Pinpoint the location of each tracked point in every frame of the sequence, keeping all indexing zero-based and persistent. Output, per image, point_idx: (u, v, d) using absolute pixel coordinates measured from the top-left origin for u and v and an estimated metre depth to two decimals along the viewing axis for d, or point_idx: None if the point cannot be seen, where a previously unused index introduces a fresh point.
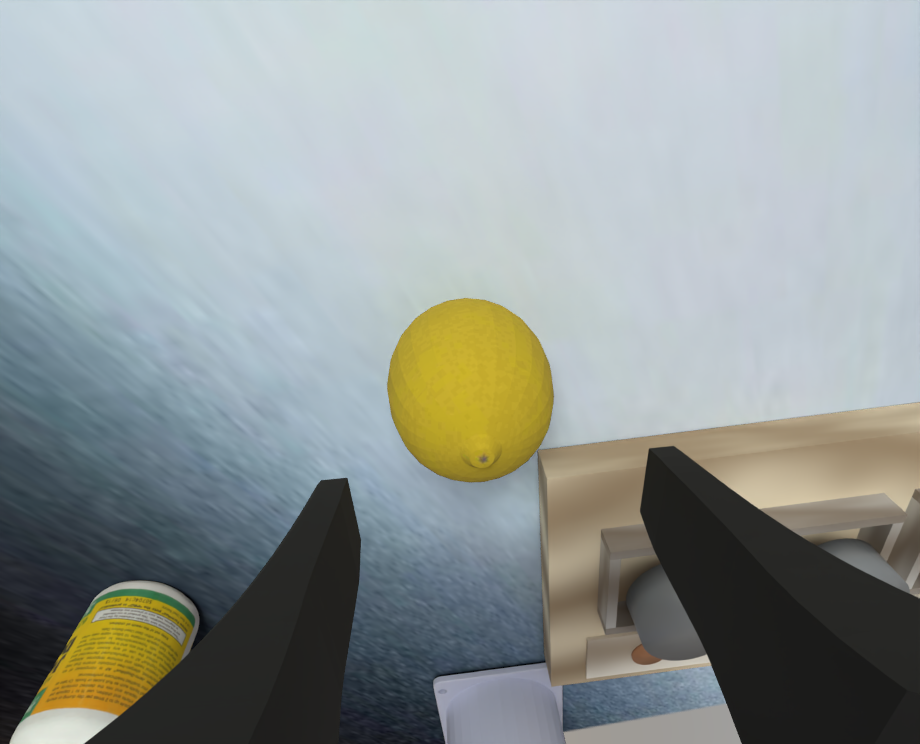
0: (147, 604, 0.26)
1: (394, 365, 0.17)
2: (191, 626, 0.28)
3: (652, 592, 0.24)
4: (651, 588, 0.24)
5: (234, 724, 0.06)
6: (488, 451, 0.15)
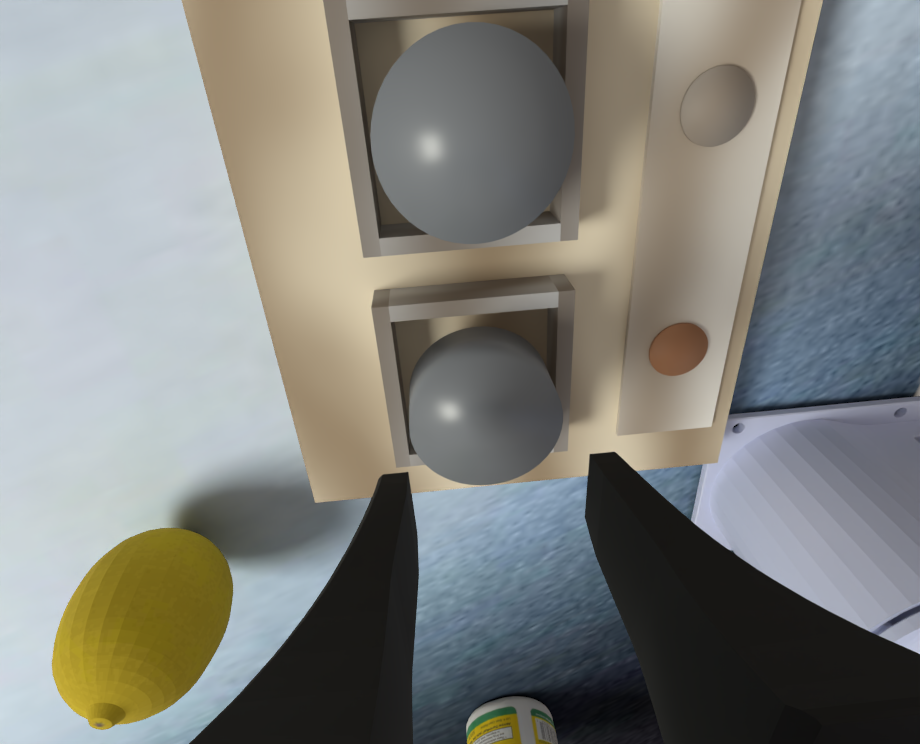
0: (473, 735, 0.32)
1: None
2: (513, 715, 0.31)
3: None
4: None
5: (351, 711, 0.07)
6: (91, 721, 0.17)
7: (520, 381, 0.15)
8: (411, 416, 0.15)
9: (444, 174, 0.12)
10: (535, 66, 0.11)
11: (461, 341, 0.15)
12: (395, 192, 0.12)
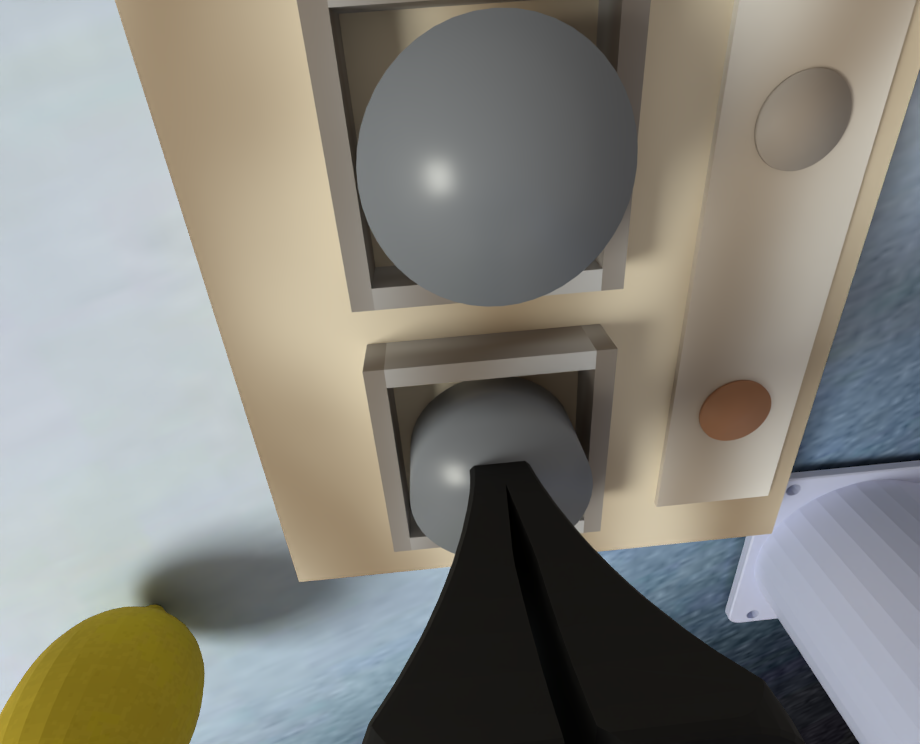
0: None
1: None
2: None
3: None
4: None
5: (525, 691, 0.07)
6: None
7: (543, 446, 0.12)
8: (412, 486, 0.13)
9: (458, 217, 0.09)
10: (587, 70, 0.08)
11: (472, 395, 0.13)
12: (391, 241, 0.09)
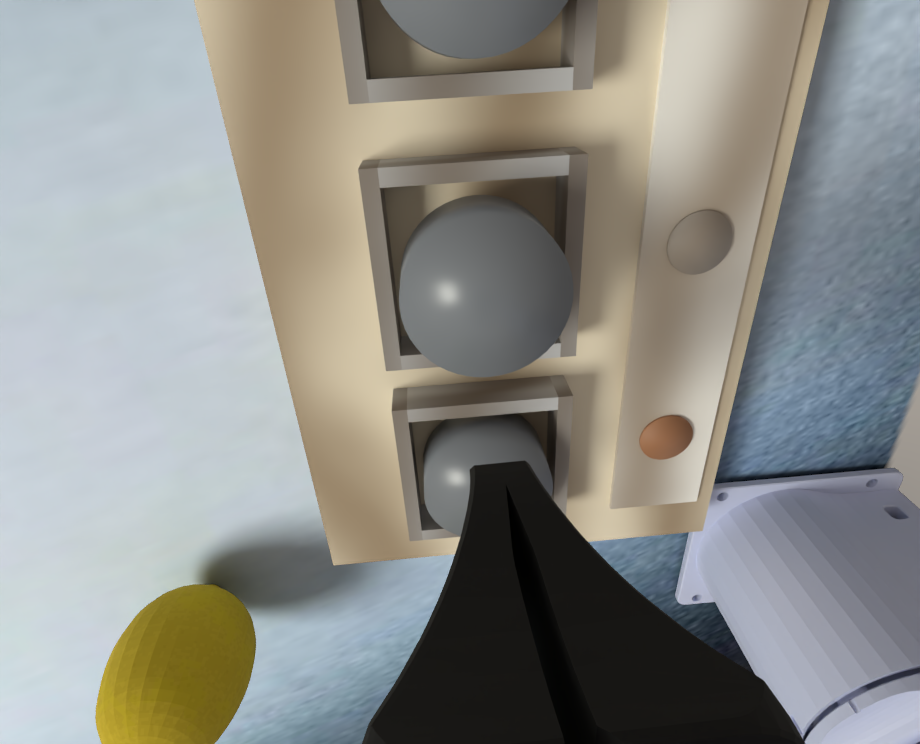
0: None
1: None
2: None
3: None
4: None
5: (525, 691, 0.07)
6: None
7: (517, 458, 0.18)
8: (426, 485, 0.18)
9: (461, 325, 0.14)
10: (540, 244, 0.13)
11: (468, 421, 0.18)
12: (419, 339, 0.14)
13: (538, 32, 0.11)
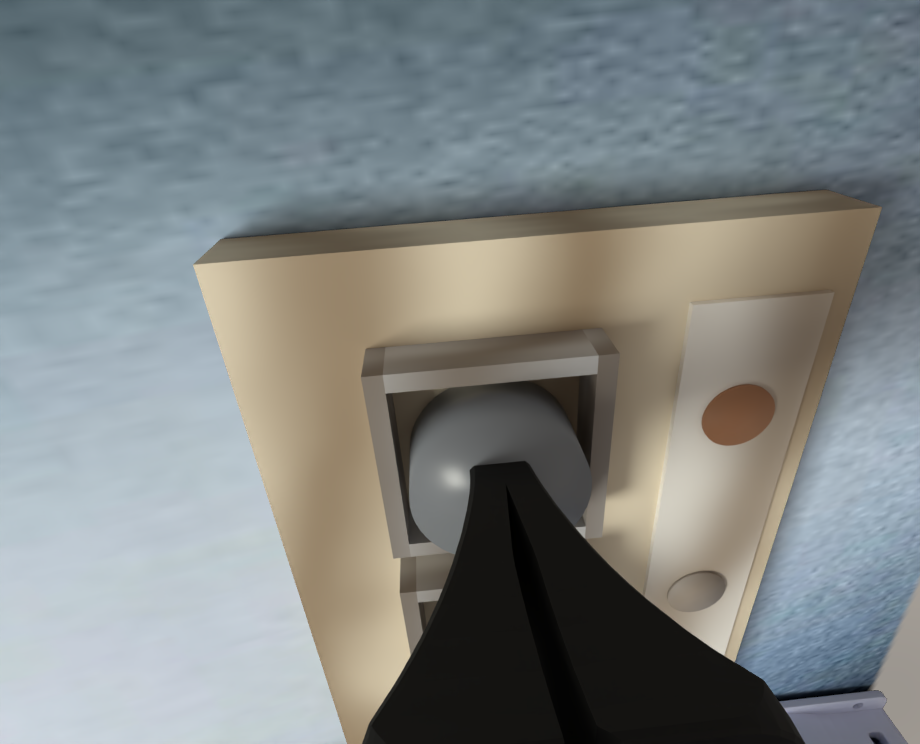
0: None
1: None
2: None
3: None
4: None
5: (525, 692, 0.07)
6: None
7: None
8: None
9: None
10: None
11: None
12: None
13: None
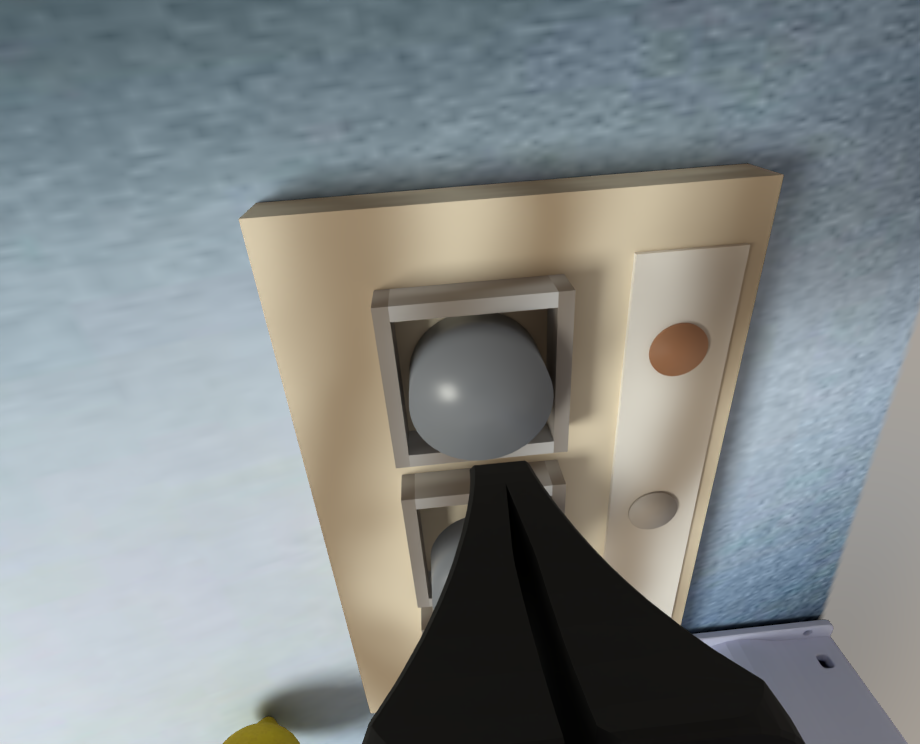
0: None
1: None
2: None
3: None
4: None
5: (525, 691, 0.07)
6: None
7: None
8: None
9: None
10: None
11: None
12: None
13: (521, 447, 0.17)
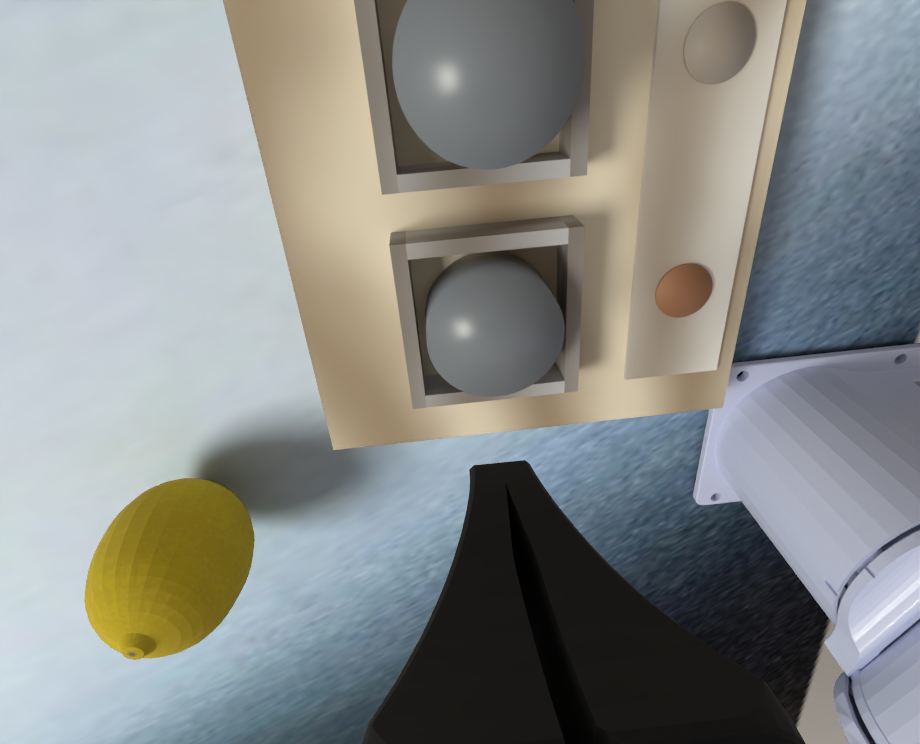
0: None
1: None
2: None
3: None
4: None
5: (525, 692, 0.07)
6: (124, 651, 0.18)
7: (526, 294, 0.16)
8: (428, 328, 0.17)
9: (461, 99, 0.13)
10: None
11: (472, 262, 0.17)
12: (415, 117, 0.13)
13: None
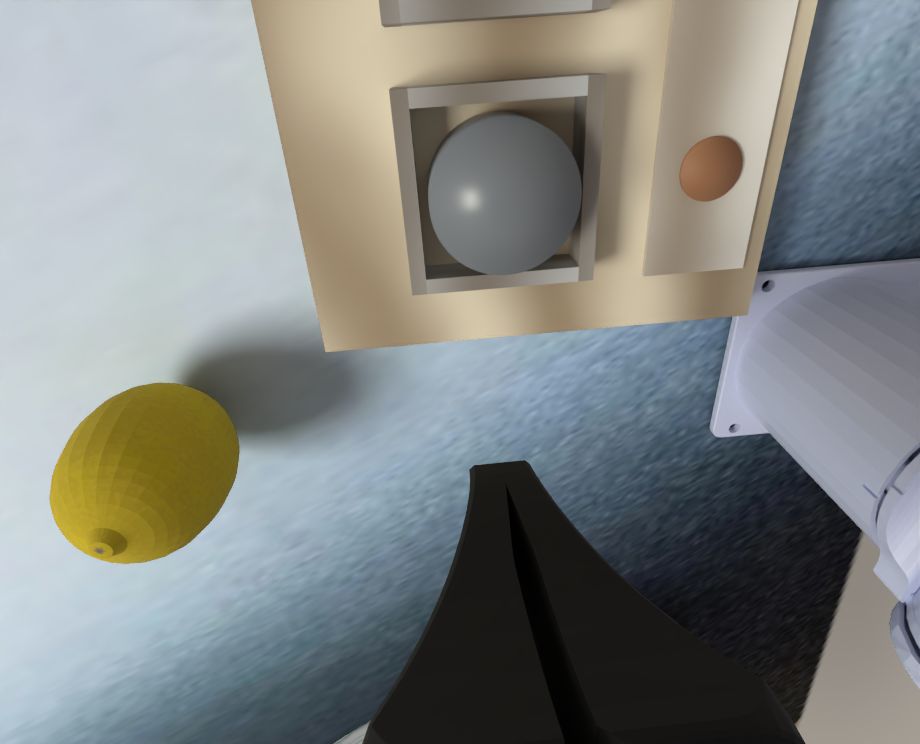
0: None
1: None
2: None
3: None
4: None
5: (525, 691, 0.07)
6: (91, 547, 0.16)
7: (540, 146, 0.15)
8: (431, 186, 0.15)
9: None
10: None
11: (480, 116, 0.15)
12: None
13: None
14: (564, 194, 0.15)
